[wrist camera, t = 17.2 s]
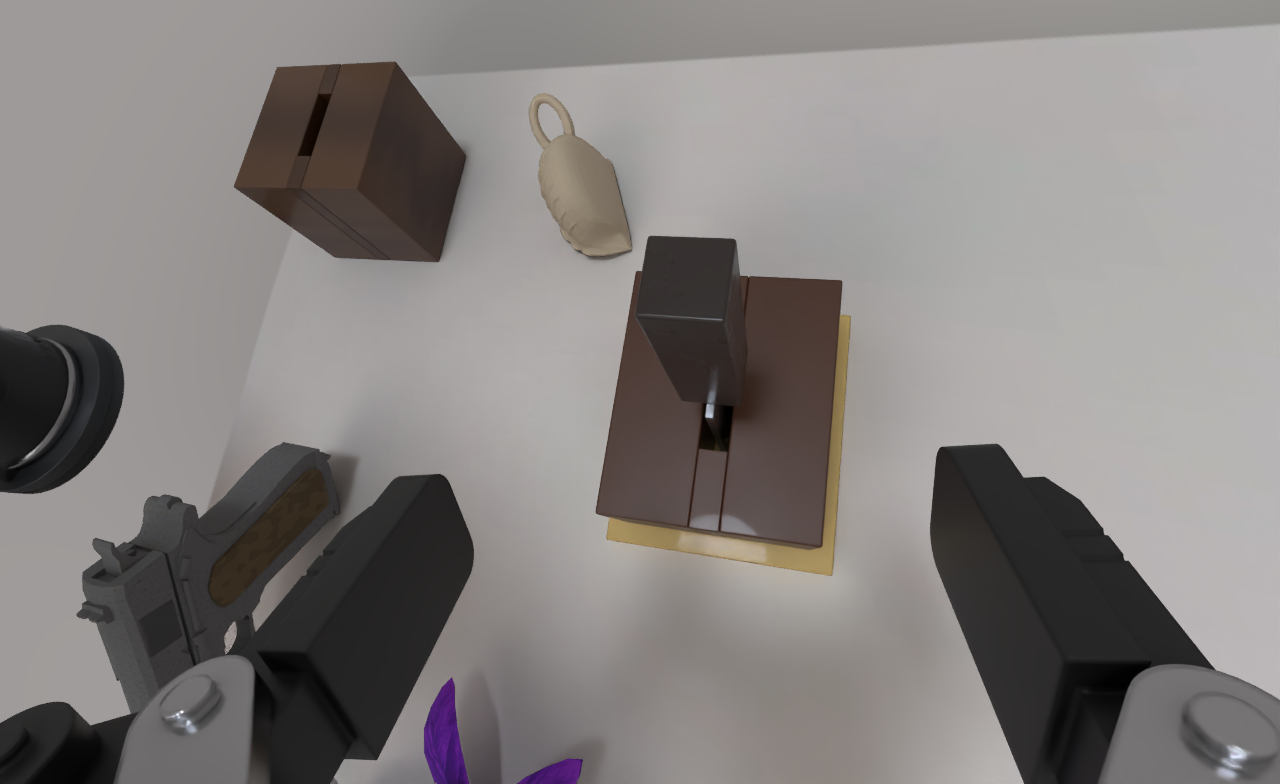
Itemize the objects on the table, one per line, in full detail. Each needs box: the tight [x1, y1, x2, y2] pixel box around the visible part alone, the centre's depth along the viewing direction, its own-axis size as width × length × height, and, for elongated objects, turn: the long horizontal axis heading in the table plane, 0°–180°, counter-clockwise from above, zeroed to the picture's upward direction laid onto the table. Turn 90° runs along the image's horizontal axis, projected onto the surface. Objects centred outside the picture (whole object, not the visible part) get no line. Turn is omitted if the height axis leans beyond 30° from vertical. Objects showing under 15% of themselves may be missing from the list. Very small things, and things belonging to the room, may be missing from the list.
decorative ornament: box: [529, 93, 632, 256], centre depth 34 cm, size 4×8×5 cm, turn 11°
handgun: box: [77, 442, 340, 714], centre depth 31 cm, size 3×18×12 cm
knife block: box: [234, 62, 466, 262], centre depth 36 cm, size 8×8×8 cm
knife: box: [635, 236, 748, 452], centre depth 22 cm, size 3×2×17 cm
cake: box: [596, 271, 851, 576], centre depth 27 cm, size 13×11×9 cm
